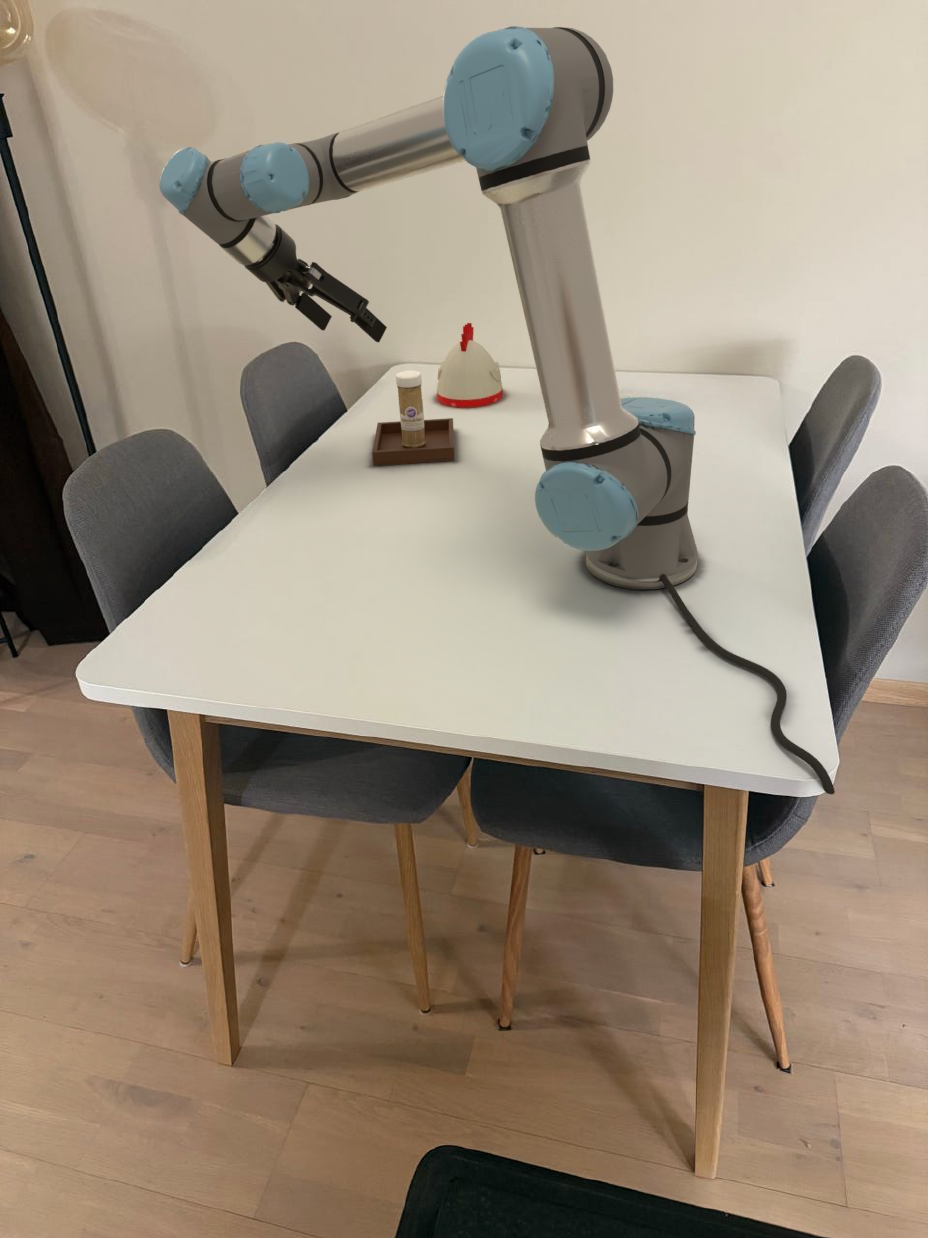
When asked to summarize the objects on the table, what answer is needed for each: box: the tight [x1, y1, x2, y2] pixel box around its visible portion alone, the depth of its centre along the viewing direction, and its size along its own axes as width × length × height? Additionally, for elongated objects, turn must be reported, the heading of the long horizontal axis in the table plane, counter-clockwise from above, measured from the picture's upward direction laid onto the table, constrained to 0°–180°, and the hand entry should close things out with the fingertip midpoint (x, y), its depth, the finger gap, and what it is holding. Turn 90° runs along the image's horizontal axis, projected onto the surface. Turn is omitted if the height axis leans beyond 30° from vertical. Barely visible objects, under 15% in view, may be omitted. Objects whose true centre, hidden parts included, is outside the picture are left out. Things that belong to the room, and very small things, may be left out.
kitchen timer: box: [436, 322, 503, 409], centre depth 189 cm, size 14×14×15 cm
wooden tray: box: [371, 417, 455, 467], centre depth 168 cm, size 16×15×3 cm
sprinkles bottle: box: [395, 370, 426, 448], centre depth 165 cm, size 5×5×13 cm
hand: (353, 328), depth 144 cm, fingers open, 13 cm apart
